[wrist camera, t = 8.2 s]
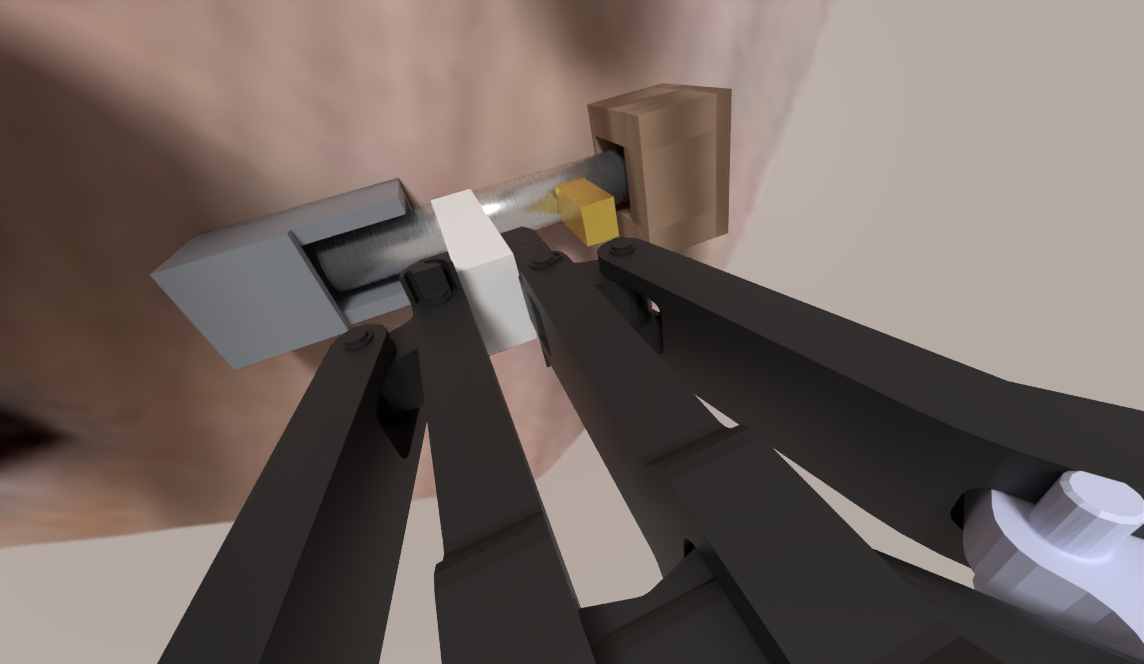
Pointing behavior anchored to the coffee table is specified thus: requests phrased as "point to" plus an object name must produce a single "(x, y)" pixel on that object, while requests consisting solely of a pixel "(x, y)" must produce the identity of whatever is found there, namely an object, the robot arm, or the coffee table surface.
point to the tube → (530, 201)
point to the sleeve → (279, 277)
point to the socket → (670, 161)
